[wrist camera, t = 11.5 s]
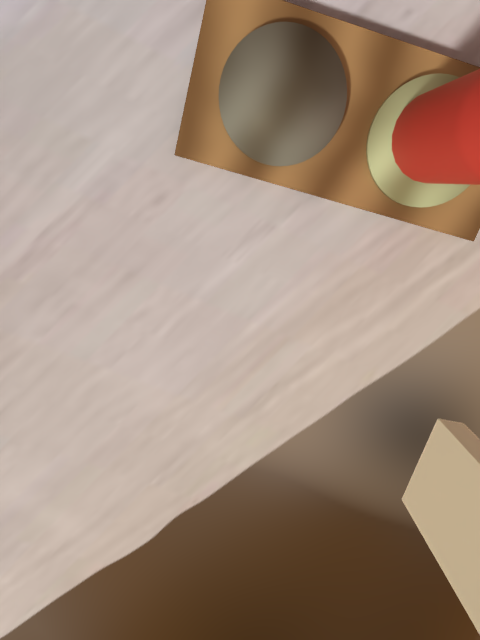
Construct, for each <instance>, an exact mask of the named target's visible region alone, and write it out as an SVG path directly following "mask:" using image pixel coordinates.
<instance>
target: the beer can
mask: <svg viewBox="0 0 480 640" xmlns="http://www.w3.org/2000/svg"><path fill="white" fill-rule="evenodd" d="M392 152H393V156H394V159H395V163H396V164H397V165H398V167H399V168H400V170H401V171H402V173H403V174H405V175H406V176H408V177H409V178H411V179H412V180H414V181H418V182H422V183H429V184H472V185H480V69H478V70H476V71H474V72H471V73H469V74H467V75H464V76H462V77H460V78H458V79H455V80H453V81H451V82H448V83H446V84H444V85H442V86H439V87H437V88H435V89H432V90H430V91H428V92H426V93H424V94H421V95H419V96H417V97H416V98H415V99H413V100H412V101H411V102H410V103H409V104H408V105H407V106H406V107H405V108H404V109H403V111H402V113H401V114H400V116H399V117H398V119H397V121H396V124H395V127H394V130H393V133H392Z"/></svg>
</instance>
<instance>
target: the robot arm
mask: <svg viewBox="0 0 480 640" xmlns="http://www.w3.org/2000/svg"><path fill="white" fill-rule="evenodd" d="M402 501H403V503H404V504H405V506H406V508H407V510H408V511H409V513H410V515H411V516H412V518H413V520H414V522H415V523H416V525H417V527H418V529H419V530H420V532H421V534H422V535H423V537H424V539H425V541H426V542H427V544H428V546H429V548H430V549H431V551H432V553H433V555H434V556H435V558H436V560H437V562H438V563H439V565H440V567H441V568H442V570H443V572H444V574H445V575H446V577H447V579H448V581H449V582H450V584H451V586H452V588H453V589H454V591H455V593H456V594H457V596H458V598H459V600H460V601H461V603H462V605H463V606H464V608H465V610H466V612H467V614H468V615H469V617H470V619H471V620H472V622H473V624H474V626H475V627H476V629H477V631H478V632H479V634H480V439H479V438H478V437H477V436H476V435H475V434H474V433H473V432H472V431H471V430H470V429H469V428H468V427H467V426H466V425H465V424H464V423H460V422H454V421H449V420H444V419H437V422H436V424H435V426H434V428H433V430H432V433H431V435H430V437H429V439H428V442H427V444H426V446H425V448H424V451H423V453H422V455H421V457H420V459H419V462H418V464H417V466H416V468H415V471H414V473H413V475H412V477H411V480H410V482H409V484H408V486H407V489H406V491H405V493H404V495H403V497H402Z"/></svg>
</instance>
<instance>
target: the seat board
mask: <svg viewBox="0 0 480 640" xmlns="http://www.w3.org/2000/svg"><path fill="white" fill-rule="evenodd" d="M478 69H480V67H477V66H474V65H471V64H468V63H465V62H462V61H460V60H457V59H454V58H451V57H448V56H445V55H442V54H439V53H436V52H433V51H430V50H427V49H424V48H421V47H418V46H415V45H412V44H409V43H407V42H404V41H401V40H398V39H395V38H392V37H389V36H386V35H383V34H380V33H377V32H374V31H371V30H368V29H365V28H362V27H359V26H356V25H354V24H351V23H348V22H345V21H342V20H339V19H336V18H333V17H330V16H327V15H324V14H321V13H318V12H315V11H312V10H309V9H306V8H303V7H301V6H298V5H295V4H292V3H289V2H286V1H283V0H206V5H205V10H204V15H203V20H202V25H201V29H200V34H199V39H198V44H197V49H196V54H195V58H194V63H193V68H192V73H191V78H190V83H189V87H188V92H187V97H186V102H185V107H184V112H183V116H182V121H181V126H180V131H179V136H178V141H177V145H176V150H175V155H176V156H180V157H183V158H187V159H190V160H194V161H197V162H200V163H204V164H207V165H211V166H214V167H218V168H221V169H225V170H228V171H232V172H235V173H239V174H242V175H245V176H249V177H252V178H256V179H259V180H263V181H266V182H270V183H273V184H277V185H280V186H284V187H287V188H290V189H294V190H297V191H301V192H304V193H308V194H311V195H315V196H318V197H322V198H325V199H328V200H332V201H335V202H339V203H342V204H346V205H349V206H353V207H356V208H360V209H363V210H367V211H370V212H373V213H377V214H380V215H384V216H387V217H391V218H394V219H398V220H401V221H405V222H408V223H412V224H415V225H418V226H422V227H425V228H429V229H432V230H436V231H439V232H443V233H446V234H450V235H453V236H457V237H460V238H463V239H467V240H471V241H474V240H475V237H476V235H477V233H478V231H479V228H480V185H472V184H429V183H422V182H418V181H414V180H412V179H411V178H409V177H408V176H406V175H405V174H403V173H402V171H401V170H400V168H399V167H398V165H397V164H396V163H395V159H394V156H393V152H392V133H393V130H394V127H395V124H396V121H397V119H398V117H399V116H400V114H401V113H402V111H403V109H404V108H405V107H406V106H407V105H408V104H409V103H410V102H411V101H412V100H413V99H415V98H416V97H417V96H419V95H421V94H424V93H426V92H428V91H430V90H432V89H435V88H437V87H439V86H442V85H444V84H446V83H448V82H451V81H453V80H455V79H458V78H460V77H462V76H464V75H467V74H469V73H471V72H474V71H476V70H478Z"/></svg>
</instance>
